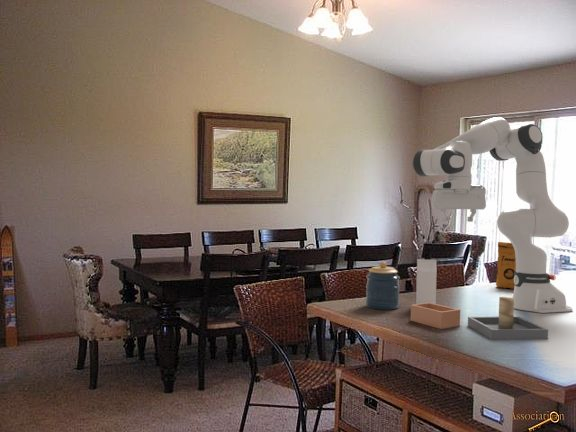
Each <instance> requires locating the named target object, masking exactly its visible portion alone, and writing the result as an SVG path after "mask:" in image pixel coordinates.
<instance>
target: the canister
mask: <svg viewBox="0 0 576 432" xmlns="http://www.w3.org/2000/svg"><path fill="white" fill-rule="evenodd" d="M397 273H399V271H398V270H397V269H396V268H395V267H393V266H387V263H386V262H385V261H381V262H380V263H379V266H378V265H377V266H372V267H371V268H369V269H368V274H367V275H366V276H365V277H366V279H367V281H366V284H365V286H366V287H365V289H366V293H365V295H366V296H365V304H366V305H365V306H366V307H367V308H370V309H374V310H389V311H390V310H396V309H398V308H399V306H400V284H399V280H400V279H401V277H400V276H399V275H398V274H397Z"/></svg>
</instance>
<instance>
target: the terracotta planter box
mask: <svg viewBox="0 0 576 432" xmlns="http://www.w3.org/2000/svg"><path fill="white" fill-rule="evenodd" d="M410 321H411V322H413V323H414V322H415V323H419V324H422V325H426V326H429V327H433V328H436V329H439V330H440V329H441V330H443V329H450V328H455V327H460V326H461V309H459V308H455V307H450V306H447V305H442V304H438V303H436V304H434V303H421V304H416V303H415V304H410Z"/></svg>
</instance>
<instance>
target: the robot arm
mask: <svg viewBox="0 0 576 432" xmlns="http://www.w3.org/2000/svg"><path fill="white" fill-rule="evenodd" d="M543 137H544V136H543V132H542V130H541V128H540V127H539V126H538V125H536V124H535V123H532V122H531V123H524V124H521V125H519V126H517V127H513V128H511V126H510V123H509V122H508V121H507V119H505V118H503V117H501V116H498V117H491V118H489V119H486V120H484V121H482V122H480V123H478V124H476V125H474V126H473V127H471V128H470V129H468V130H466V131H464V132H462V133H461V134H458V136H456V137H454V138H451V139H450V140H448V141H446V142H443V143H441V144H439V145H437V146H435V147H433V148H431V149H420V150H418V151H417V152H416V153H415V154H414V156H413V158H412V167H413V168H412V169H413V171H415V173H416V174H417V175H418V177H429V176H446V180H445V179H444V180H442V181H439V182H436V183H434V185H433V187H434V190H433V191H432V195H431V200H430V201H431V202H430V206H431V208H432V209H434V210H440V211H439V212H440V214H441V215H442V218H443V219H442V220H443V222H449V216H447V215H446V212H447V210H470V211H469V212H470V213H471V214H470V215H469V216H467V219H466V221H467V222H471V223H472V222H473V221H474V217H475V215H476V214H477V210H485V209H486V207H487V204H486V203H487V199H486V195H487V194H486V193H487V191H486V188H485V186H483V185H482V184H477V185H476V184H472V179H473V178H472V177H473V176H472V166H473V155H481V154H484V153H486V152H489V154H490V156H491V157H492V158H493V159H494V160H496V161H499V162H503V161H508V160H510V159H515V161H516V168H515V169H516V170H515V183H516V184H515V185H516V187H515V188H516V190H515V192H516V195H517V197H518V198H519V199H520V200H522V201H523V202H526V203H528V204H529V205H530V207H532V208H510V209H506V210H502V212H500V213H499V215H498V216H497V222H496V225H497V228H498V231H500V233H501V234H502V235H504V237H506V238H507V239H508V240H509V242H510V243H512V245H513V247H514V250H515V257H516V271H515V272H514V285H515V287H514V289H513V294H512V298H514V310H521V311H527V312H535V313H539V314H542V313H543V314H545V313H546V314H548V313H549V314H550V313H565V312H573V307H571V306H569V305H567V300H566V295H565V294H564V293H563V292H562V291H561V290H560V289H558V288H557V287H556V286H555V285H554V284H553V283H551V281H555V280H556V279H557V277H556V275H555V274H549V273H548V272H547V263H548V262H547V261H548V259H547V257H548V256H547V253H546V252H545V250H544V249H542V248H541V247H539V246H537V245H535V244H533V243H532V240H531V238H556V237H561V236H564V234H566V233H567V230H568V228H569V225H570V223H569V218H568V216H567V214H566V213H565V212H564V211H562V210H561V209H559V208H558V207H557V206H556V205H555V203H554V202H553V201H552V199H551V198H550V196H549V195H550V194H549V193H548V186H547V185H548V184H547V171H546V170H547V169H546V162H545V158H544V155H543V152H541V149H542V146H543Z"/></svg>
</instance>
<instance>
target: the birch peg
mask: <svg viewBox="0 0 576 432" xmlns="http://www.w3.org/2000/svg"><path fill="white" fill-rule="evenodd" d="M498 301H499V302H498V317H499V322H498V329H513V321H514V317H515V316H514V314H515V308H514V298H513V297H510V296H509V297H508V296H499V299H498Z"/></svg>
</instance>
